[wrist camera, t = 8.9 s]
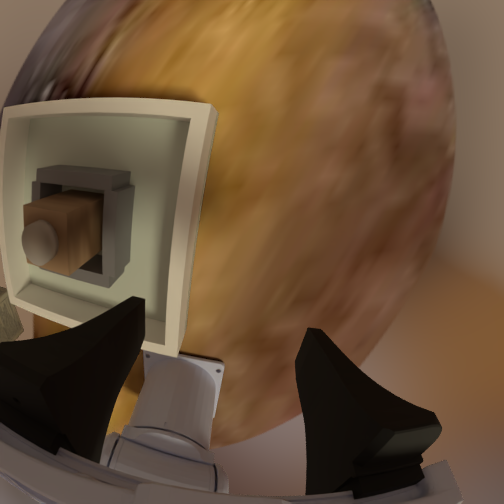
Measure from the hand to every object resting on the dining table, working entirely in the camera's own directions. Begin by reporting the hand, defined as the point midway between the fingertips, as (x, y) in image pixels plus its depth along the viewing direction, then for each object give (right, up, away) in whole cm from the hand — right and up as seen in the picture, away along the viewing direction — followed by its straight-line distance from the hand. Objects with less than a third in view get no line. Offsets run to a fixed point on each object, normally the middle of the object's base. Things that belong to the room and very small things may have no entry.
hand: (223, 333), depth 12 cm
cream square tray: (-12, +7, +9) cm, 16 cm away
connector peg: (-12, +6, +8) cm, 15 cm away
